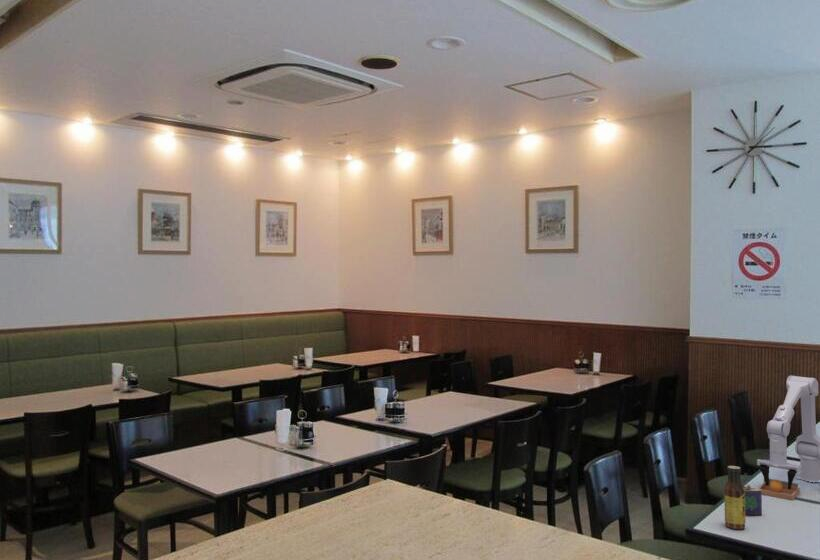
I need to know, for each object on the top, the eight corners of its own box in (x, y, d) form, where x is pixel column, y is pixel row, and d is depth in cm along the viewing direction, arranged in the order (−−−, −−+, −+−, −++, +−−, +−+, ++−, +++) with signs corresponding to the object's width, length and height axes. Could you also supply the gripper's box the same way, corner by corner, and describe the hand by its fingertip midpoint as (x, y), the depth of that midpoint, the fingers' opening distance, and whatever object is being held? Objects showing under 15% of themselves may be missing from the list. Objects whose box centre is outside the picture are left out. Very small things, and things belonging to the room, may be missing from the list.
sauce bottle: (747, 531, 219) (747, 470, 219) (727, 529, 220) (727, 469, 220) (742, 523, 225) (741, 465, 225) (722, 522, 227) (722, 464, 226)
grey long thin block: (764, 485, 267) (764, 477, 267) (798, 491, 259) (798, 483, 259) (763, 485, 266) (763, 478, 266) (797, 491, 258) (797, 484, 258)
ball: (777, 490, 260) (773, 478, 261) (787, 490, 256) (783, 478, 257) (769, 493, 258) (765, 481, 259) (779, 493, 254) (775, 481, 255)
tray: (765, 486, 266) (765, 481, 266) (799, 492, 258) (799, 487, 258) (756, 493, 256) (756, 489, 256) (792, 500, 248) (792, 495, 248)
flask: (759, 513, 235) (759, 483, 235) (763, 516, 232) (763, 485, 232) (733, 513, 236) (733, 483, 236) (736, 516, 233) (736, 485, 233)
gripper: (754, 450, 259) (755, 485, 259) (797, 456, 249) (797, 493, 249) (759, 446, 264) (759, 481, 264) (801, 453, 254) (801, 488, 254)
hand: (778, 486), depth 257 cm, fingers open, 7 cm apart
